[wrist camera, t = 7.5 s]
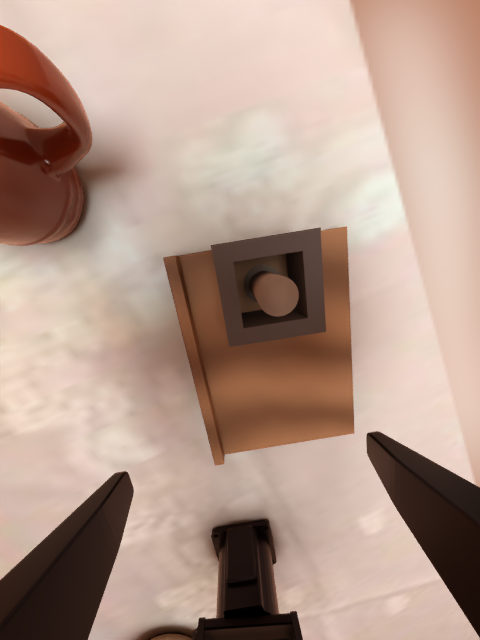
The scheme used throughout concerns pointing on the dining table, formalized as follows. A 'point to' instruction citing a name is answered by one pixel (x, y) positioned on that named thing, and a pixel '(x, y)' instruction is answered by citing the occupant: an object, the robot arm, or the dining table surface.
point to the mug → (39, 149)
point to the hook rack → (267, 353)
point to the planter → (171, 637)
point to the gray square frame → (301, 270)
